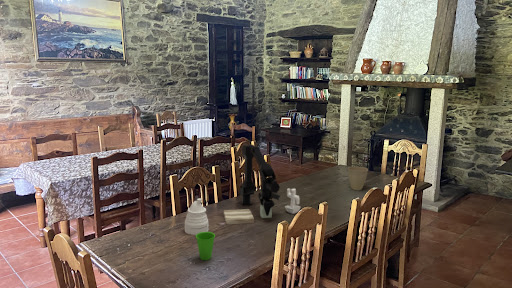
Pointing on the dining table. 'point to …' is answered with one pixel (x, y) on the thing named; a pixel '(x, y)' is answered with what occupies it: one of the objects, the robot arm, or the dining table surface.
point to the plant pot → (357, 177)
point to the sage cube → (263, 214)
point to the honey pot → (196, 219)
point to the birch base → (238, 216)
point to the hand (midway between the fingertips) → (265, 212)
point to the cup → (205, 244)
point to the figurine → (293, 201)
